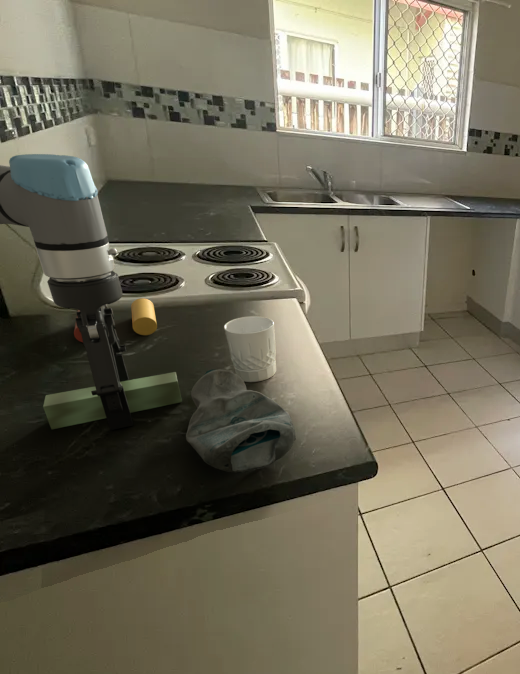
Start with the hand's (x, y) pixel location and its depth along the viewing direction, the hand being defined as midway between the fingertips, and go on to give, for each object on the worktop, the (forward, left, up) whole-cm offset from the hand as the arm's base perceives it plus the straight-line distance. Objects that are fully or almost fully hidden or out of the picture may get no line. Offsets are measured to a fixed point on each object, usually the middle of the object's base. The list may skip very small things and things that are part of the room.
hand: (121, 407), depth 75 cm
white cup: (+20, +3, 0) cm, 20 cm away
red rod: (-5, +35, 0) cm, 35 cm away
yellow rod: (+4, +35, 0) cm, 35 cm away
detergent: (+14, -14, 0) cm, 20 cm away
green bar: (0, 0, 0) cm, 0 cm away
